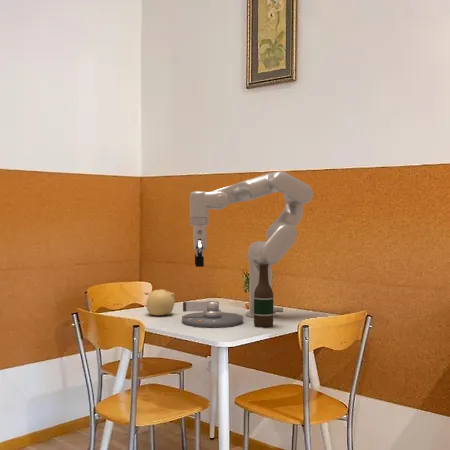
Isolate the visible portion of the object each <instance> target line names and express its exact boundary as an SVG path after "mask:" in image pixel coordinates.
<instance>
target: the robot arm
mask: <svg viewBox="0 0 450 450" xmlns="http://www.w3.org/2000/svg"><path fill="white" fill-rule="evenodd" d="M274 193H282V194H283V199H284V208H283V210H282V212H281V213H280V214H279V216H277V218H276V219H275V220H274V221H273V222H272V223H271V224H270V225H269V226H268V228H267V230H266V232H265V237H266V239H267V240H265V241H264V240H257V241H254V242H253V243H251V244H250V246H249V247H248V250H247V259H248V260H247V261H248V271H249V273H248V274H249V276H248V277H249V280H248V281H249V282H248V283H249V284H248V285H249V293H248V294H249V295H248V296H249V297H248V299H249V300H248V301H249V303H248V305H249V306H248V307H249V309H248V310H249V311H248V312H246V313H245V317H248V318H251V319H254V291H255V289H256V287H257V285H258V283H259V272H260V266H259V264H260V263H268V281H269V285H270V287H271V289H272V290H273V270H272V266H273V265H276V264H277V263H278V262H279V261H280V260H281V259H282V258H283V257H284V256H285V255H286V254H287V252H288V251H289V250H290V249H291V247H292V246H293V245H294V244H295V243H296V241H297V236H298V231H297V228H296V227H297V226H298V225H299V224H300V222H301V221H302V218H303V214H304V207H303V206H304V205H306V204H309V203H310V202H311V201H312V200H313V198H314V191H313V189H312V186H310V185H309V184H307V183H306V182H304V181H302V180H301V179H298V178H297V177H295V176H293V175H291V174H289V173H287V172H285V171H279V170H278V171H273V172H268V173H266V174H265V173H264V174H262V175H259V176H256V177H252V178H250V179H249V178H248V179H246V180H242V181H240V182H236V183H234V184H231V185H228V186H224V187H221V188H218V189H214V190H211V191H205V190H204V191H202V190H201V191H200V190H199V191H198V190H195V191H192V192H190V194H189V226H192V242H193V249H194V250H195V254H194V265H195V267H197V268H202V267H204V265H205V263H204V262H205V258H204V251H206V250H207V226H209V225H210V224H209V223H210V222H209V220H210V219H209V217H210V216H209V212H210V211H209V209H210V210H223V209H225V208H226V207H228V205H231V204H235V203H236V204H237V203H241V202H248V201H253V200H255V199H258V198H261V197H265V196H268V195H272V194H274ZM283 312H284V307H278V306H277V307H276V306H274V305H273V318H274V317H275V318H276V316H277V313H283Z"/></svg>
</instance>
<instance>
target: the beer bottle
mask: <svg viewBox="0 0 450 450" xmlns="http://www.w3.org/2000/svg"><path fill="white" fill-rule="evenodd" d="M259 266H260V272H259V283H258V285H257V287H256V289H255V291H254V318H253V325H254V327H255V328H264V329H265V328H272V327H273V326H274V317H273V306H274V292H273V288H272V289H271V287H270V285H269V281H268V263H260V264H259Z"/></svg>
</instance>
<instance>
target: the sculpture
mask: <svg viewBox="0 0 450 450" xmlns="http://www.w3.org/2000/svg"><path fill="white" fill-rule="evenodd" d="M145 306H146V310H147V312H148V314H149V315H153V316H166V315H170V314H172V312H173V310H174V307H175V293H174V292H170V291H169V290H166V289H164V288H163V289H161V288H160V289H154V290H152V291H150V292H148V297H147V299H146V303H145Z"/></svg>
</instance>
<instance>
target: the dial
mask: <svg viewBox="0 0 450 450" xmlns="http://www.w3.org/2000/svg"><path fill="white" fill-rule="evenodd" d="M182 312H204V317H207V318H218V317H221V312H222V310H221V309H220V302H219V301H218V300H208V301H205V300H204V301H182Z"/></svg>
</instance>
